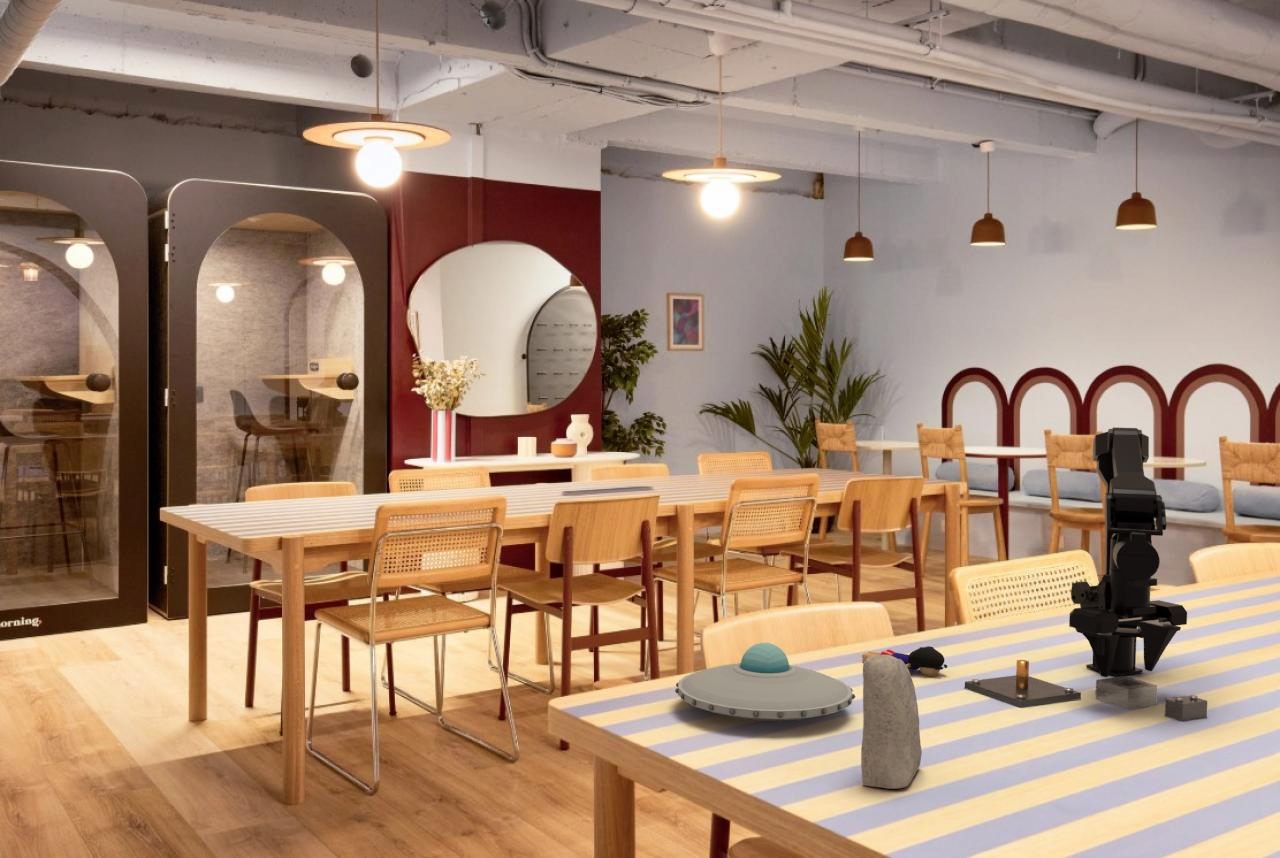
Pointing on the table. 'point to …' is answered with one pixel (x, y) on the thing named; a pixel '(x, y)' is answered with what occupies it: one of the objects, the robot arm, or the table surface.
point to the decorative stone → (889, 724)
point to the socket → (1126, 692)
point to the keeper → (1022, 689)
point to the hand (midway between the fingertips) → (1126, 673)
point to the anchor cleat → (1186, 708)
